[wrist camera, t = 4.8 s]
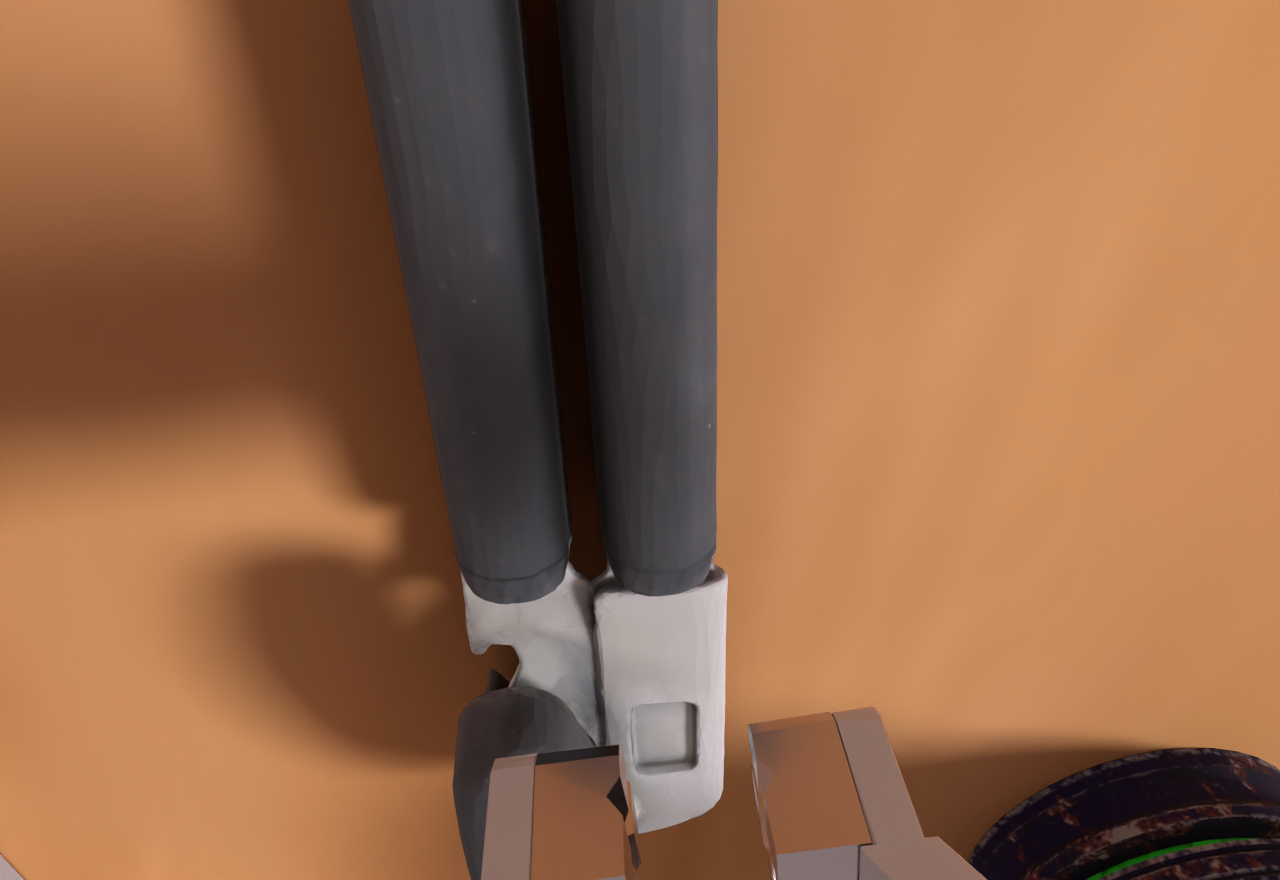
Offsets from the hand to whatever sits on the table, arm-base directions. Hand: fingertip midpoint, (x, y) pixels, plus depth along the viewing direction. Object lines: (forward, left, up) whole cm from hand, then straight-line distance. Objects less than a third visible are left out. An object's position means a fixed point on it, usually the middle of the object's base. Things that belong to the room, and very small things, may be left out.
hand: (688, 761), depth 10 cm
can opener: (0, -1, -8) cm, 8 cm away
